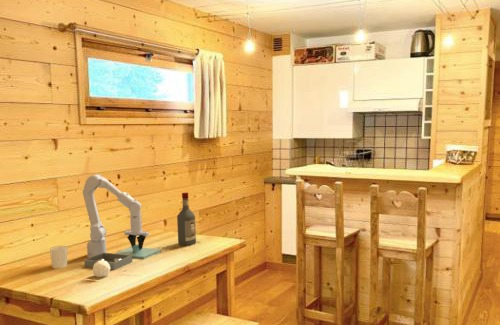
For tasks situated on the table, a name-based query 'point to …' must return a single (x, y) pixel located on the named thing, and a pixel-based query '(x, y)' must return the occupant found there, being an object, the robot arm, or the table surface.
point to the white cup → (59, 256)
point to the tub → (109, 260)
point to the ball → (101, 268)
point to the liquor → (186, 224)
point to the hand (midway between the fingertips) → (137, 248)
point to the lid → (139, 252)
